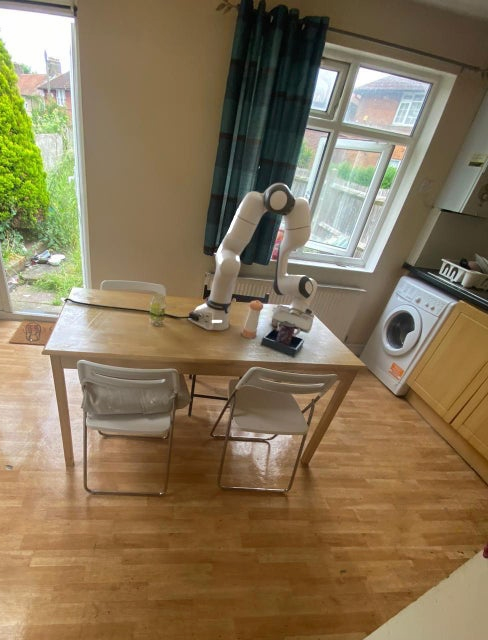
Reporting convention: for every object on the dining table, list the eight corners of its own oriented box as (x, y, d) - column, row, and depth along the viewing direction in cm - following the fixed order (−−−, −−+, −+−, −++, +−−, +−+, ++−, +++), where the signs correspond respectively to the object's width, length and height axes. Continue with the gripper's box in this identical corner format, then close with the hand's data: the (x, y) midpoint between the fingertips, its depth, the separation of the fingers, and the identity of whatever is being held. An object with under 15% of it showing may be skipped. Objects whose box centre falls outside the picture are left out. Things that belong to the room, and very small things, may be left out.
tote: (260, 344, 169) (263, 337, 166) (270, 334, 179) (273, 327, 176) (293, 357, 163) (296, 349, 160) (302, 346, 173) (304, 339, 170)
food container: (265, 326, 187) (270, 309, 181) (268, 322, 192) (273, 306, 185) (286, 333, 183) (292, 316, 177) (289, 329, 188) (295, 312, 182)
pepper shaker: (246, 330, 180) (255, 296, 168) (257, 335, 177) (267, 301, 165) (239, 334, 175) (247, 299, 163) (250, 339, 172) (260, 304, 160)
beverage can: (272, 342, 172) (279, 321, 164) (283, 341, 175) (290, 320, 167) (280, 349, 167) (287, 327, 160) (291, 347, 170) (299, 326, 162)
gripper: (277, 300, 168) (265, 324, 167) (317, 313, 161) (305, 338, 160) (278, 306, 174) (266, 329, 173) (316, 319, 166) (304, 343, 166)
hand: (285, 334), depth 166 cm, fingers closed on beverage can, 7 cm apart
